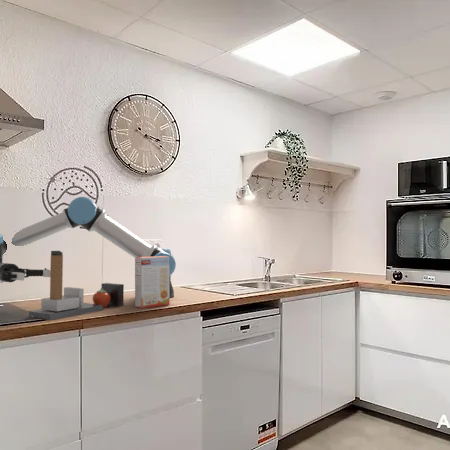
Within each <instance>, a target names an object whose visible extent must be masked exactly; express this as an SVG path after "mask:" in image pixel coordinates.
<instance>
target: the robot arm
mask: <svg viewBox="0 0 450 450" xmlns="http://www.w3.org/2000/svg"><path fill="white" fill-rule="evenodd" d="M77 227H81V228H83V229H84V230H86V231H88V232H95V233H97V234H99V235H100V236H101V237H103V238H104V239H106V240H108V241H109V242H111V243H112V244H114V245H115V246H116V247H118V248H119V249H121V250H122V251H124V252H126V254H128V255H130V256H131V257H133V258H134V259H135V257H153V256H168V257H169V299H170V298H173V297H174V296H175V291H174V287H173V284H172V281H171V279H172V278H171V276H172V274H173V273H174V272H175V270H176V260H175V257H174V256H173V255H172V251H171V249H168V248H161V247H160V246H157V245H156V244H153V245H150V243H147V242H146V241H145V240H143V239H141V238H140V237H139V236H137V235H136V234H134V233H133V232H131V231H130V230H129V229H127V228H126V227H125V226H123V225H121V223H118V222H117V221H116V220H115V219H112V218H111V217H110V216H109V215H107V213H106V210H105V209H104V208H103V207H101V206H100V205H98V204H97V203H96V202H94V201H93V200H92V199H91V198H89V197H86V196H78V197H76V198H74V199H73V200H72V201H70V203H69V204H68V207H66V208H64V209H63V210H62V212H60V213H57V214H55V215H53V216H50V217H48V218H46V219H43V220H41V221H38V222H35V223H34V224H31V225H28V226H26V227H23V228H21V229H22V230H21V229H19V230H20V231H19V232H17V233H16V234H15V235H14V237H13V238H12V242H11V243H12V244H13V245H15V246H23V247H25V246H28V245H31V244H33V243H34V242H35V243H36V242H37V241H39V240H42V239H45V238H47V237H49V236H52V235H54V234H57V233H59V232H61V231H64V230H66V229H68V228H69V229H74V228H77ZM3 236H4V235H3V234H1V233H0V283H1V284H2V283H14V282H15V281H25V278H26V279H27V278H29V277H44V278H50V269H47V267H45V268H44V269H32V268H31V269H30V268H21V267H20V268H19V265H17V264H15V263H8V262H3V256H4V255H3V254H4V253H5V252H6V250H7V244H6V242H5V241H4V240H3ZM27 244H28V245H27ZM24 245H25V246H24Z"/></svg>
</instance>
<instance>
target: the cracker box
mask: <svg viewBox="0 0 450 450" xmlns="http://www.w3.org/2000/svg"><path fill="white" fill-rule="evenodd" d="M168 305H170V298H169V257H168V256H153V257H135V258H134V306H135V307H136V308H141V309H145V308H146V309H147V308H152V307H162V306H168Z"/></svg>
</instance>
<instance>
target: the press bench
mask: <svg viewBox="0 0 450 450" xmlns="http://www.w3.org/2000/svg"><path fill="white" fill-rule="evenodd" d="M124 286H125V285H124V284H123V283H112V282H104V283H101V288H103V290H105V291H106V292H107V293H109V294H110V296H111V300H110V303H109V304H108V306H111V307H118V308H119V307H124V301H125V300H124V295H125V294H124V290H125V289H124V288H125V287H124ZM101 288H100V289H101ZM103 310H104V308H103V305H98V304H94V303H90V302H89V303H88V302H83V307H80V308H74V309H68V310H63V311H50V310H43V309H41V308H40V309H34V310H28V317H29V316H33V317H38V318H37V319H40V318H43V319H42V320H47V321H52V320H57V319H63V318H69V317H74V316H80V315H85V314H91V313H95V312H101V311H103ZM33 317H32V318H33Z"/></svg>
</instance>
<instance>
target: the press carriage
mask: <svg viewBox="0 0 450 450" xmlns="http://www.w3.org/2000/svg"><path fill="white" fill-rule="evenodd" d="M63 256H64V255H63V250H51V251H50V269H49V270H50V277H49V278H50V279H49V285H50V286H49V297H43V298H41V300H40V301H41V305H40V306H41V308H40V309H43V310H50V311H63V310H68V309H74V308H80V307H83V303H84V295H85V294H84V292H85V291H84V289H85V288H82V287H70V286H67V287H63V269H64V268H63V265H64V264H63V263H64V257H63Z"/></svg>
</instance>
